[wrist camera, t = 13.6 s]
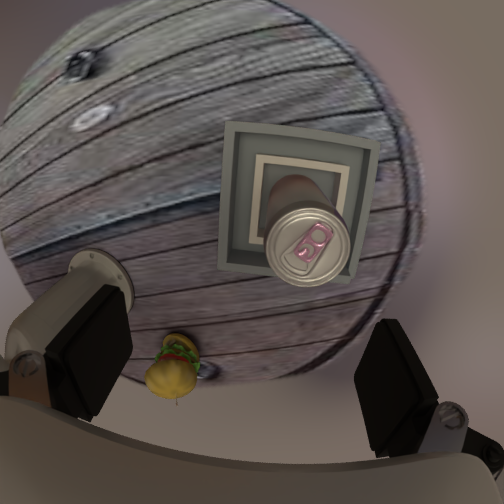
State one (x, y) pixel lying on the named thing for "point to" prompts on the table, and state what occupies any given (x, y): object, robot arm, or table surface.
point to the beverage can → (304, 233)
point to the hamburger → (174, 368)
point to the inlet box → (278, 166)
